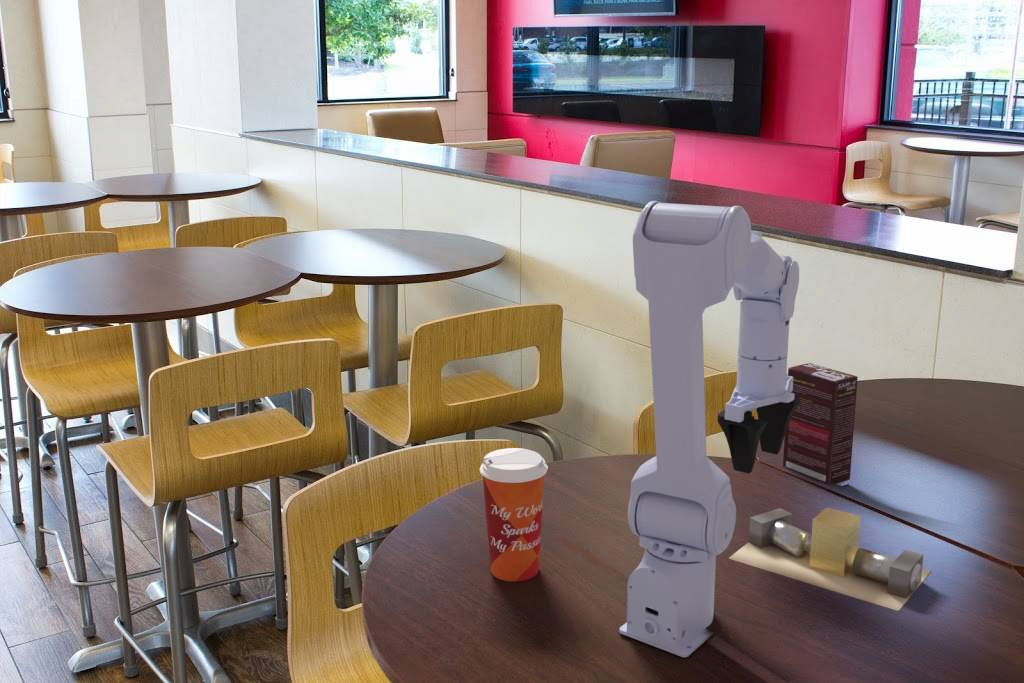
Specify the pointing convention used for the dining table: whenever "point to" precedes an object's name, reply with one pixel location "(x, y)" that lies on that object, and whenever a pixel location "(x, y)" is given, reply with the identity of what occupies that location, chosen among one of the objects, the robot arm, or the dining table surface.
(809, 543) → the shaft angled
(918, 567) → the shaft straight
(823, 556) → the yellow rectangular block
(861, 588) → the board
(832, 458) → the supplement box
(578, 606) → the dining table surface
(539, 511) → the paper cup
